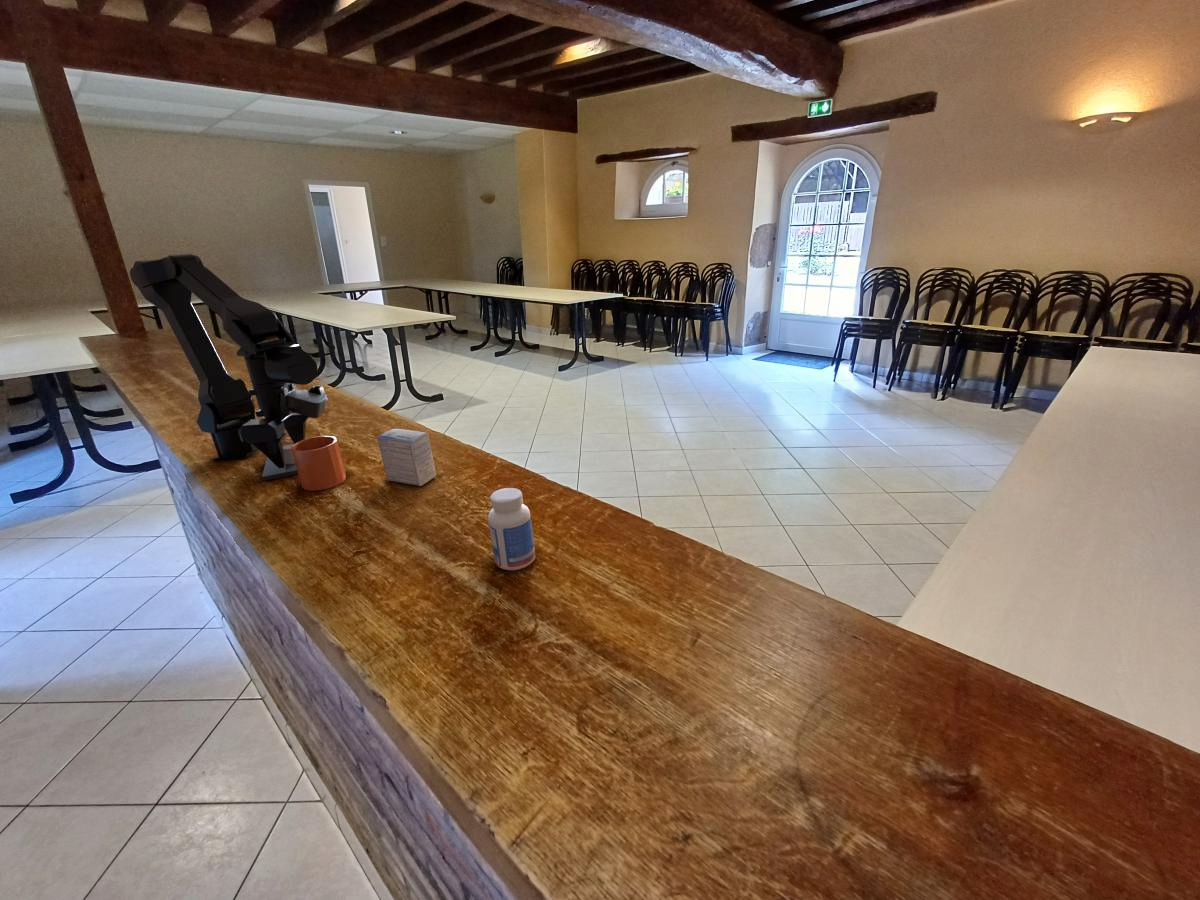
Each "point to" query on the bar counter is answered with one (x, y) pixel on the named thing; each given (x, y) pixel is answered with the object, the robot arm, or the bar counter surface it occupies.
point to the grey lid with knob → (274, 472)
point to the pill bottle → (511, 530)
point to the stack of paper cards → (407, 456)
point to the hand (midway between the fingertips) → (292, 458)
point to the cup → (318, 462)
